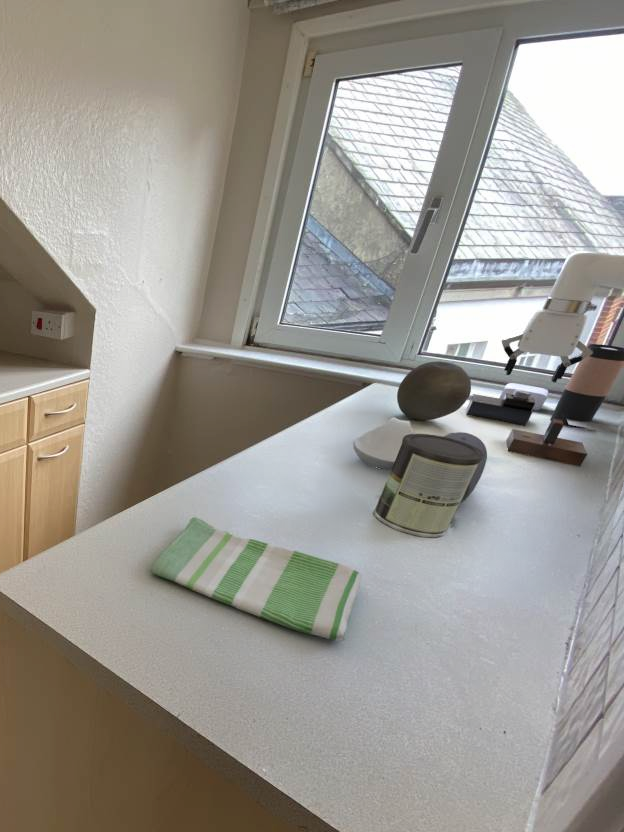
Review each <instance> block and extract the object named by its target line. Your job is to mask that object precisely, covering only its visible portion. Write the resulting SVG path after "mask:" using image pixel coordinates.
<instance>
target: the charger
mask: <svg viewBox="0 0 624 832" xmlns="http://www.w3.org/2000/svg"><path fill="white" fill-rule="evenodd" d="M515 390H522V391H528V392H530V396H529V397H531V398H534V400H535V405H534V406H533V408H532V411H541V410H542V408H543V406H544V404H545V403H546V400H547V399H548V395H549V390H548V389H547V388H543V387H537V386H533V385H526V384H522V383H521V384H520V383H516V382H515V383H514V382H509V383H507V384H505V387H504V388H503V390H502V392H501V394H500V396H499V399H503V398H504V396H505V393H507V394H514V392H515Z"/></svg>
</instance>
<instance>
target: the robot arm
mask: <svg viewBox="0 0 624 832" xmlns="http://www.w3.org/2000/svg"><path fill="white" fill-rule="evenodd" d="M600 286H601V287H606V288H607V287H608V288H612V289H617V290H624V252H622V253H620V254H611V253H608V252H601V251H582V250H581V251H574V252H572V253H570V254H569V255H568V256H567V257H566V258H565V261H564V263H563V265H562V267H561V269H560V271H559V274H558V276H557V278H556V279H555V281H554V284H553V286H552V288H551V290H550V291H549V292H550V293H549V294H548V297H547V299H546V301H545V303H544V304H543V307H542V309H537V310H536V311H535V313H534V314H533V315H532V317H531V318H530V319H529V321H528V324H527V325H526V327H525V329H524V330H523V333H519V334H516V335H513V336H509V337H506V338H504V339H503V338H502V339H501V344H502V347H503V351H504V353H505V354H506V355H507V356H508V361H507V363H506V364H505V366H504V369H503V371H506V372H505V375H506V376H509V375H511V374H512V372H513V370H514V368H515V366H516V363H517V362H518V360H517V358H518V357H520V356H521V355H522V354H525V353H530V354H538V355H544V356H552V357H559V358H560V360H561V363H560V364H557V367H556V369H555V370H554V373H553V375H552V377H551V378H550V380H551V382H552V383H557V381H558V380H562V378H563V376H564V375H565V373H566V370H567V369H568V368H569V367H571V366H573V365H575V364H579V362H580V361H582V360H583V359H585V358H586V357H588V356H590V355H591V354H593V352H592V350H590V349H589V348H588V345H586V344H584V343H583V342H581V341H580V339H581V337H582V334H583V332H584V329H585V326H586V324H587V319H588V315H587V314H586V313H588V312H591V311H594V312H595V311H596V310H597V308H598V304H594V303H593V302H592V300H593V298H594V296H595V295H596V293H597V291H598V288H599V287H600ZM517 341H518V342H517ZM514 342H517V349H515V350H513V349H512V348H511V344H512V343H514ZM576 348H577V349H578V350H579V351H580V352H581V353H579V354H578V355H576V356H574V357H571V358H570V356H572V354H573V353H574V352H575V350H576Z"/></svg>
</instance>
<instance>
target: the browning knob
mask: <svg viewBox="0 0 624 832" xmlns="http://www.w3.org/2000/svg"><path fill="white" fill-rule="evenodd" d="M564 427H565V426H564V424H563V421H562V420H559V419H554V418H553V419H552V421H551V420H550V423H549V425H548V427H547V428H546V431H545V432H544V434H543V435H544V436H543V439H544V442H546V443H551V444H554V442H555V441H556V439H557V438H559V435H560V433H561V431H562V430H563V428H564Z"/></svg>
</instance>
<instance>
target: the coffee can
mask: <svg viewBox="0 0 624 832" xmlns="http://www.w3.org/2000/svg"><path fill="white" fill-rule="evenodd" d="M443 436H444V435H437V434H429V433H413V434H408V435H406V436H404V437H403V440H402V445H401V447H400V450H399V452H398V455H397V457H396V460H395V462H394V465H393V467H392V470H390V472H389V475H388V477H387V479H386V482H385V485H384V487H383V489H382V492H381V494H380V497H379V499H378V500H377V501H378V502H377V504H376V506H375V509H374V510H373V514H375V515H374V516H375V518H376V517H377V518H378V519H379V520H378V519H377V518H376V519H377V520H378V521H380V522H381V521H382V522H383V523H382V522H381V523H382V524H384V525H386V526H387V525H388V527H389V528H392V529H394V530H396V531H399V532H401V533H405V534H407V535H412V536H416V537H423V538H439V536H440V537H444V536H445V535H446V534H447V530H448V528H449V526H450V524H451V523H452V520H453V518H454V516H455V514H456V512H457V510H458V508H459V506H460V504H461V503H460V502H461V500H462V498H463V496H464V494H465V492H466V490H467V488H468V486H469V483H470V481H471V479H472V477H473V475H474V473H475V471H476V469H477V467H478V465H479V463H480V461H481V460H482V459H483V457H484V453H483V452H482V451H481V450H479V449H478V448H476V447H474V446H472V445H470V444H467V443H465V442H462V441H458V440H455V439H451V438H447V437H443Z"/></svg>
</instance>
